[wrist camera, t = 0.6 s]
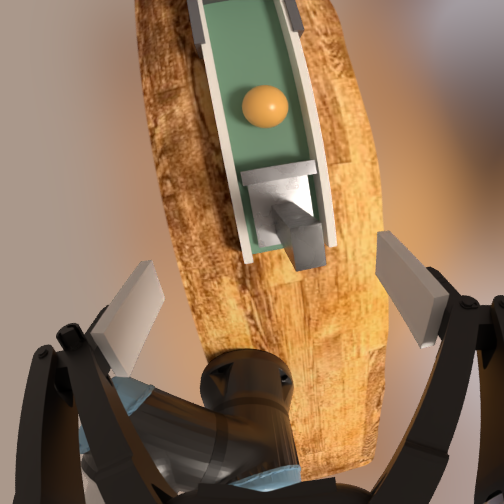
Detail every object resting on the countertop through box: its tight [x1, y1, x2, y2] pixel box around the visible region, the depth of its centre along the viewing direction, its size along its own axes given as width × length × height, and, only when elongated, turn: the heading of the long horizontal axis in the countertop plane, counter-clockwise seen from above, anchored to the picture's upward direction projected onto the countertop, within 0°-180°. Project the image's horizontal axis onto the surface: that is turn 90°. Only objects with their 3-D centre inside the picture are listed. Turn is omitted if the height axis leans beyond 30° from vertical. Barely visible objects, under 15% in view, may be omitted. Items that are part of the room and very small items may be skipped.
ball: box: [242, 85, 288, 128], centre depth 28 cm, size 5×5×5 cm
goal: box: [187, 0, 304, 59], centre depth 24 cm, size 9×12×7 cm
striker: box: [240, 160, 326, 271], centre depth 28 cm, size 9×8×13 cm
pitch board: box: [198, 0, 337, 264], centre depth 29 cm, size 36×11×4 cm, turn 11°
